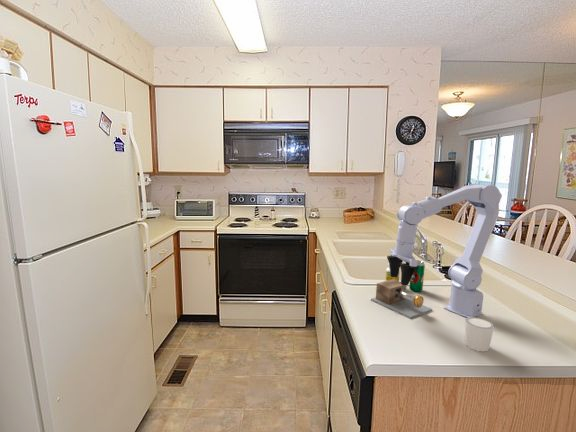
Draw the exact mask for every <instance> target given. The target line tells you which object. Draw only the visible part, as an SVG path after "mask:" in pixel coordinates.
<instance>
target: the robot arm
mask: <svg viewBox="0 0 576 432" xmlns="http://www.w3.org/2000/svg"><path fill="white" fill-rule="evenodd" d="M502 198H503V195H502V193H501V191H500V189H499V188H498V187H497V186H495V185H493V184H489V185H486V184H477V183H470V184H468V185H463V186H462V187H460V188H458V189H455V190H454V191H451V192H449V193H447V194H445V195H443V196H440V197H436V196H429V195H428V196H425V198H424V199H423V200H419V201H417V202H416V201H413V202H412V203H411V205H407V204H405V205H403V206H401V207H400V208H399V209H398V211H397V212H396V217H397V219H398V226H397V227H398V228H397V233H396V241H395V247H394V248H390V251H389V254H390V255H387V256H386V259H387V261H388V263H389V266H390V275H391V277H397V276H398V273H399V274H400V272H401V276H400V282H401V284H402V285H406V286H409V285H410V280H411V278H412V276H413V274H414V273H415V272H416V271H417V270H418V266H417V260H418V259H416V258H415V256H414V255H413V252H414V247H415V241H416V235H417V229H418V225H419V224H420V223H421V222H422V221H423V220H424V219H426V218H430V217H431V216H434V215H436V214H439V213H441V212H442V209H443V208H445V207H448V206H451V205H454V204H458V203H460V202H463V201H467V202H468V203H469V204H470V205H471V206H472V207H473V208H475V211H476V213H477V215H476V218H475V222H474V224H473V227H472V229H471V232H470V234H469V237H468V240H467V242H466V244H465V247H464V249H463V253H462V255H461V256H460V257H458V258H455V260H454V263H453V264H452V265H451V266H450V267H449V269H448V277H449V279H450V282H451V285H450V294H449V297H450V298H449V304H448V305H444V306H443V309H444V310H447V311H450V312H452V313H454V314H457V315H459V316H462V317H464V318H470V317H475V318H477V317H478V316H480V315H482V314H483V310H482V309H483V301H484V294H483V292H482V291H480V290H478V288H479V287H480V285H481V284H482V275H483V271H484V269H483V268H482V265H481V264H480V263H481V259H482V258H483V257H482V256H483V254H484V252H485V249H486V246H487V244H488V241H489V239H490V237H491V234H492V231H493V229H494V226H495V225H496V222H497V219H498V217H499V213H500V202H501V199H502ZM403 262H404V263H403ZM399 271H400V272H399Z"/></svg>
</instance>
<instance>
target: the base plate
mask: <svg viewBox="0 0 576 432" xmlns="http://www.w3.org/2000/svg"><path fill="white" fill-rule="evenodd" d="M370 301H372V302H374V303H376V304H378V305H380V306H383V307H385V308H386V309H389V310H391V311H393V312H395V313H397V314H399V315H402V316H404V317H405V318H408V319H410V320H411V319H414V318H416V317H419V316H421V315H424V314H427V313H430V312H432V311H433V308H431V307H428V306H426V305H424V304H422V306H421V307H420V308H418V307H416V306H414V303H412V302H410V301H407V300H403V301H399V302H396V303H393V304H390V305H388V304H386V303H384V302H381V301H379V300H377V299H376V296H375V297H372V298H370Z"/></svg>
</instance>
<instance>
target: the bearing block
mask: <svg viewBox="0 0 576 432" xmlns="http://www.w3.org/2000/svg"><path fill="white" fill-rule="evenodd" d="M375 289H376V291H375V297H376V299H377V300H379V301H381V302H384V303H386V304H388V305H390V304H393V303H396V302H399V301H403V300H405V299H402V298H400V297H398V296H395V290H396V289H398V290H401V291H403V292H406V293H407V285H402V284H401V281H400V280H399V281H397V280H394V279H392V280H388V281H381V282H378V283H376V288H375Z"/></svg>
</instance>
